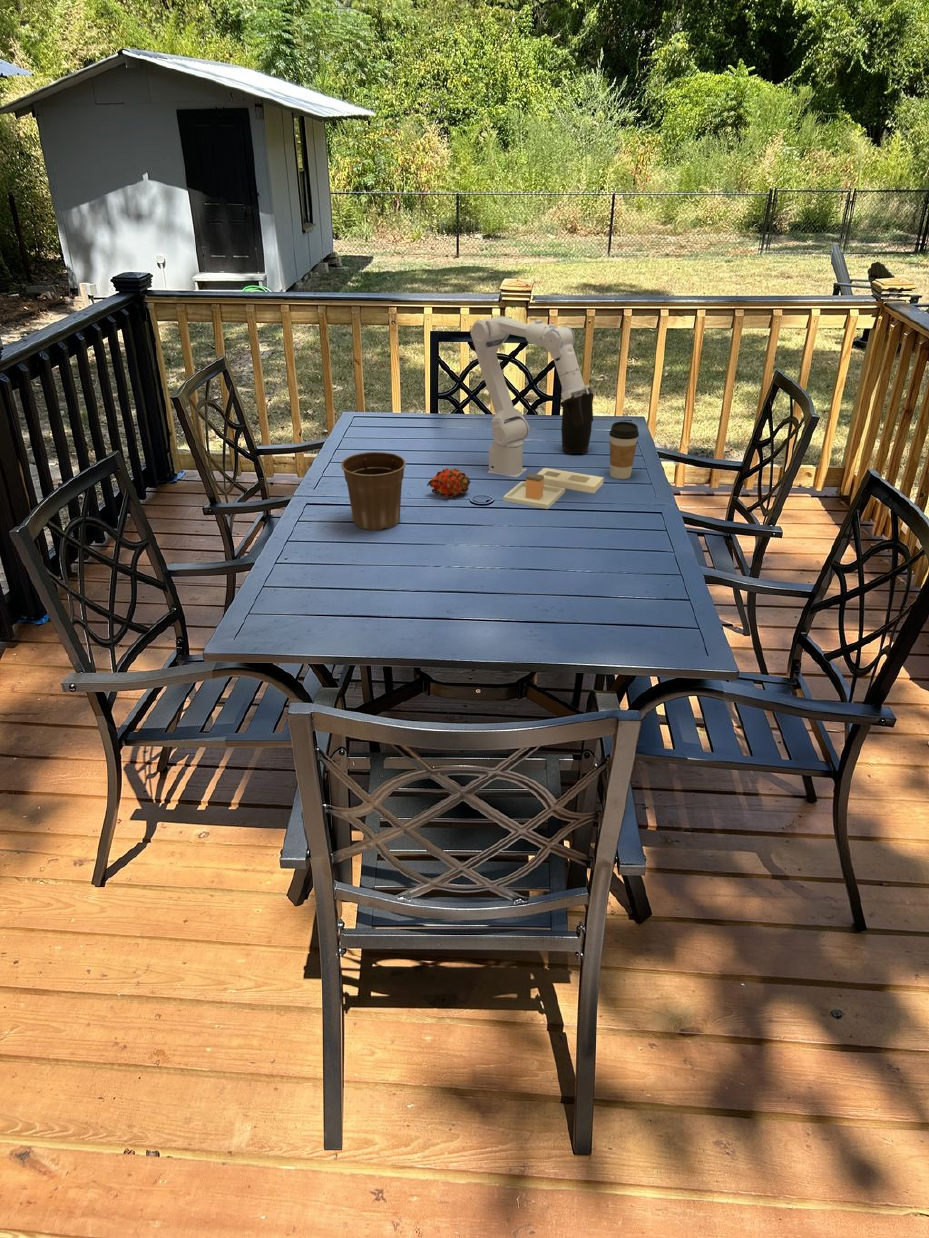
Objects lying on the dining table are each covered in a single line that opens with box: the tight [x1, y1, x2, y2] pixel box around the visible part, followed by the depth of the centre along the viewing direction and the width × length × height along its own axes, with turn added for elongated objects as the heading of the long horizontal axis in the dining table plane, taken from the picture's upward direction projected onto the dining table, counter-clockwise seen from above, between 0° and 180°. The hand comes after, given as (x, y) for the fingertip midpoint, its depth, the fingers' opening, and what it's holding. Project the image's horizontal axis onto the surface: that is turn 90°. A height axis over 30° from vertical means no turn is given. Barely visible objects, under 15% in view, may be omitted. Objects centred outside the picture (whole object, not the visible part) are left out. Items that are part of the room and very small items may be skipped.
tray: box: [502, 480, 566, 510], centre depth 248 cm, size 13×13×2 cm
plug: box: [525, 472, 544, 500], centre depth 247 cm, size 4×3×6 cm
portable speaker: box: [561, 387, 593, 456], centre depth 277 cm, size 9×9×20 cm
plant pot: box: [341, 451, 407, 531], centre depth 231 cm, size 16×16×16 cm
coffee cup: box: [608, 420, 640, 480], centre depth 260 cm, size 8×8×15 cm
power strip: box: [537, 467, 604, 494], centre depth 257 cm, size 18×8×3 cm, turn 64°
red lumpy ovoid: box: [426, 467, 471, 499], centre depth 249 cm, size 8×8×12 cm
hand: (584, 423), depth 239 cm, fingers open, 7 cm apart
